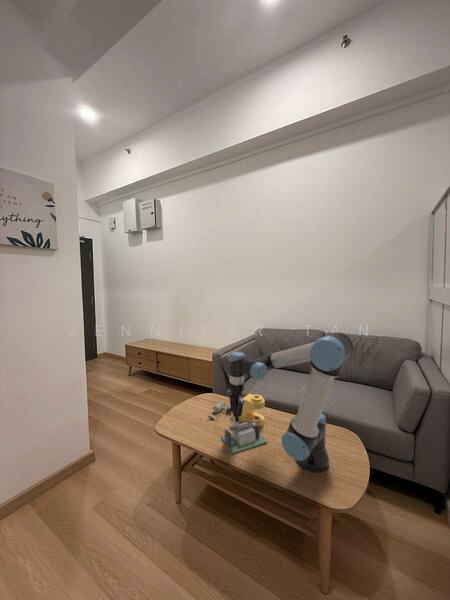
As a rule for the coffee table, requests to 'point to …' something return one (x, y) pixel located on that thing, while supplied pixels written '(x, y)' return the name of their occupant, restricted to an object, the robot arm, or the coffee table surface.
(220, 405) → the clip-on lamp
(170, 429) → the coffee table surface
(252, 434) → the heatsink base
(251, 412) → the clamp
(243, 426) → the strap
